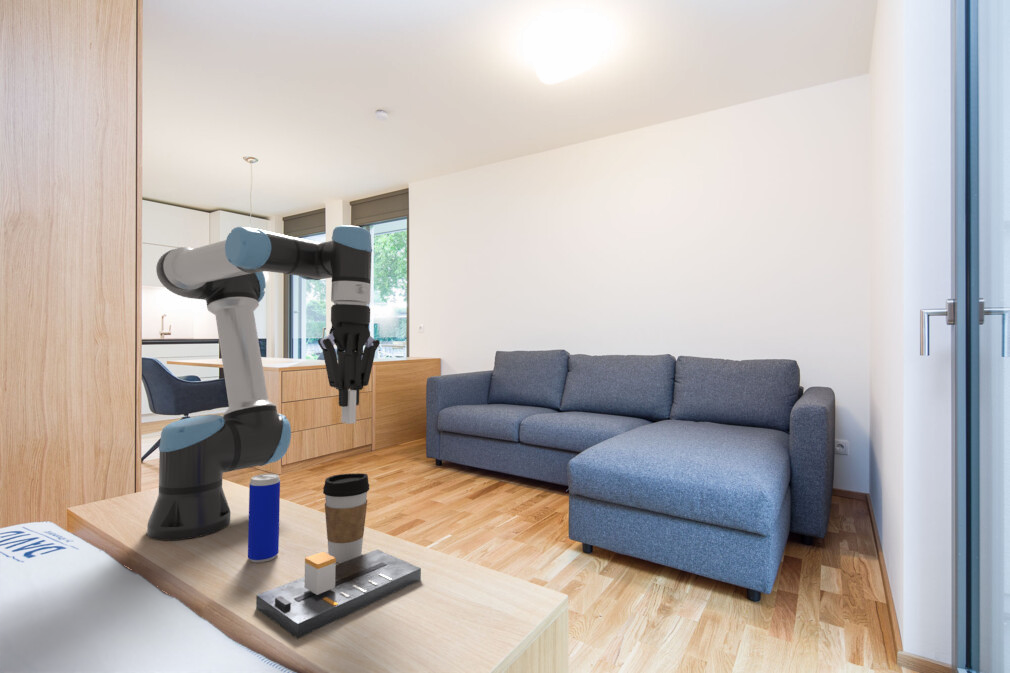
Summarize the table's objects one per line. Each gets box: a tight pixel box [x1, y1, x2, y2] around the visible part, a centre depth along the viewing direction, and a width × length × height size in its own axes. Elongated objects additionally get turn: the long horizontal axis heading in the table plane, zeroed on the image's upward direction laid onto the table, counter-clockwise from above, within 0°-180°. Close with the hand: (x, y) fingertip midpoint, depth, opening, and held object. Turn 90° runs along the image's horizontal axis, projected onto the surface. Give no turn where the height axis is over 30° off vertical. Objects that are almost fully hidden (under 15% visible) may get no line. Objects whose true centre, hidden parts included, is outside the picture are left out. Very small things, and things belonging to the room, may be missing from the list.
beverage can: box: [247, 473, 281, 564], centre depth 92 cm, size 5×5×15 cm
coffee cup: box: [322, 472, 370, 564], centre depth 93 cm, size 8×8×15 cm
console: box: [255, 549, 422, 640], centre depth 79 cm, size 12×22×3 cm, turn 141°
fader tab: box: [304, 551, 337, 595], centre depth 75 cm, size 4×3×4 cm
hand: (348, 422), depth 98 cm, fingers closed
